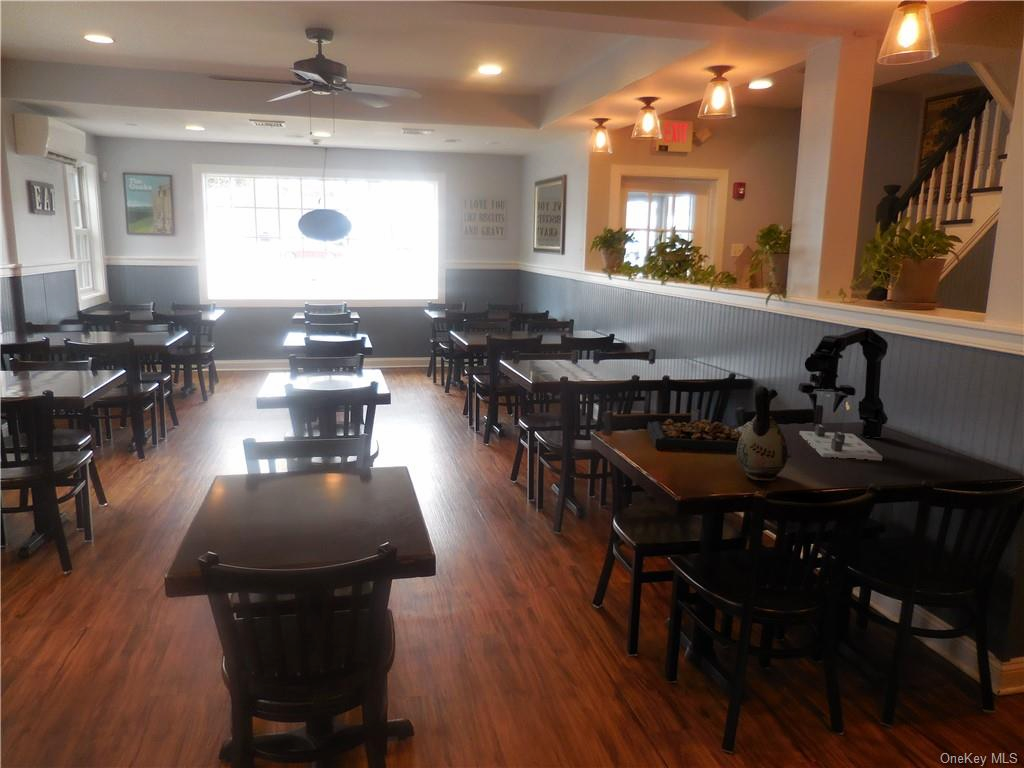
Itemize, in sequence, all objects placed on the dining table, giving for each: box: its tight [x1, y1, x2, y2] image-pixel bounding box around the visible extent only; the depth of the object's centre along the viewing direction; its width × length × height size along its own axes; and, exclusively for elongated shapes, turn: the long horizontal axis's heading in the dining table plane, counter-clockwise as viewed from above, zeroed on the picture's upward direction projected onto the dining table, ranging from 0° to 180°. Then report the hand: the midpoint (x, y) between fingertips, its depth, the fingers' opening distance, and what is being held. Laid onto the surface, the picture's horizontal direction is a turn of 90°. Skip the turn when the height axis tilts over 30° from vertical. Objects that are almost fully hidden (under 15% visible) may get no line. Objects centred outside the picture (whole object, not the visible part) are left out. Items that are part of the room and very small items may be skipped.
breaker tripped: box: [833, 431, 846, 444], centre depth 266 cm, size 2×4×4 cm, turn 173°
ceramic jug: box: [736, 385, 789, 482], centre depth 226 cm, size 17×15×30 cm
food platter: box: [646, 418, 751, 453], centre depth 267 cm, size 45×25×10 cm, turn 86°
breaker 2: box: [831, 438, 843, 451], centre depth 257 cm, size 2×4×4 cm, turn 173°
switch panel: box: [799, 430, 883, 462], centre depth 267 cm, size 20×30×2 cm, turn 173°
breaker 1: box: [814, 424, 826, 436], centre depth 276 cm, size 2×4×4 cm, turn 173°
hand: (823, 411), depth 265 cm, fingers open, 7 cm apart
